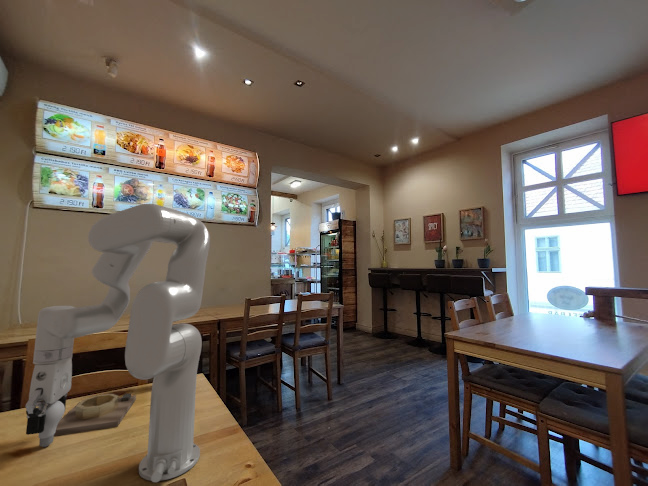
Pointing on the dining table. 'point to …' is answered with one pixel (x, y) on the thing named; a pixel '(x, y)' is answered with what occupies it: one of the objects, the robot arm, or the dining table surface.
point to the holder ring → (96, 406)
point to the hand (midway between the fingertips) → (46, 422)
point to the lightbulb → (51, 422)
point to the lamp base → (107, 421)
